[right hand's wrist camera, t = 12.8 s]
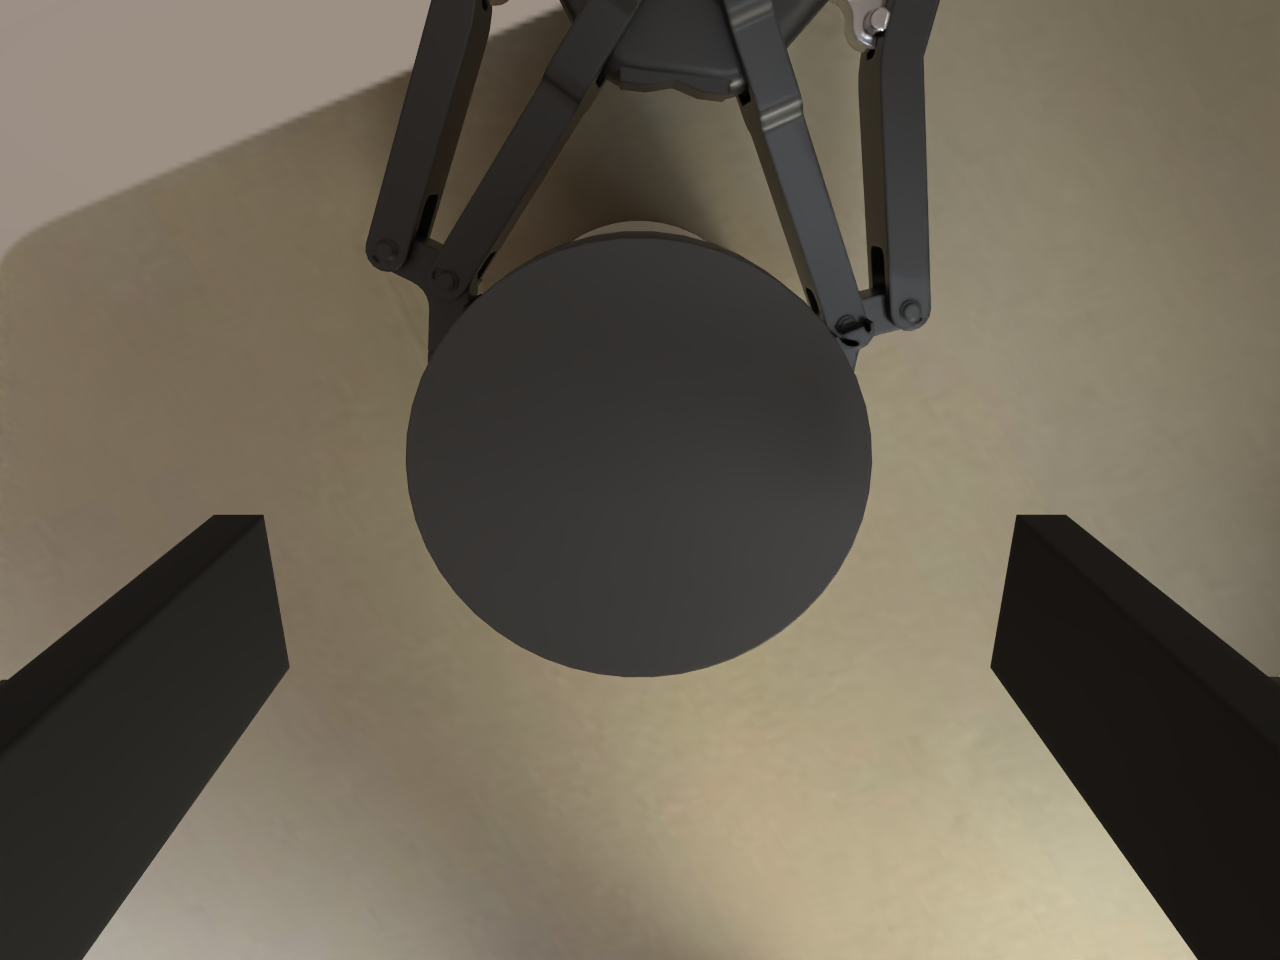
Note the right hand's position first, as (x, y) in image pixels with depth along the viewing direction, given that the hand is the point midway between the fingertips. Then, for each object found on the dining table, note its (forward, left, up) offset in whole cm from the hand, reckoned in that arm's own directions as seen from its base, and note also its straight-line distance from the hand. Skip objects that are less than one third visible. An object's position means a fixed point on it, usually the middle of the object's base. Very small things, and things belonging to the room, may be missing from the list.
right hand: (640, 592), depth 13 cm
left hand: (0, +5, -15) cm, 15 cm away
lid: (0, 0, -6) cm, 6 cm away
